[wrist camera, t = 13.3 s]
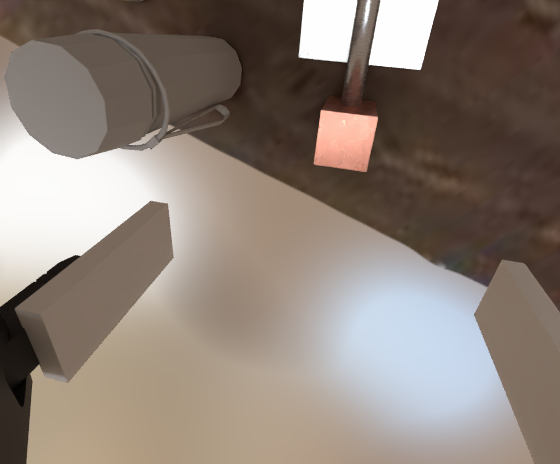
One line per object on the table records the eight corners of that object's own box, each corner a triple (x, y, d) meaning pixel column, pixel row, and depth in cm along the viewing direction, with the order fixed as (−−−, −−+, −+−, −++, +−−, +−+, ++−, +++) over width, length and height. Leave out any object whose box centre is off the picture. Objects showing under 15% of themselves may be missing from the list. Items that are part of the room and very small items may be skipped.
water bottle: (174, 62, 41) (-25, 86, 20) (220, 18, 38) (40, -10, 17) (220, 127, 44) (88, 208, 23) (267, 91, 41) (164, 147, 19)
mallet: (363, -145, 28) (364, -215, 21) (425, -145, 27) (450, -216, 20) (323, 140, 40) (313, 164, 33) (365, 146, 40) (366, 171, 32)
